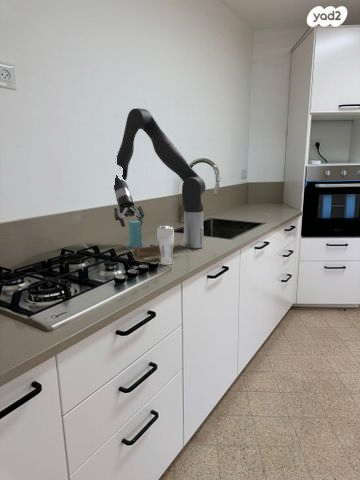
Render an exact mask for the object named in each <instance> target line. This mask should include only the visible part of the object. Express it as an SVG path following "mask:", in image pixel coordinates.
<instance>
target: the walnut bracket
mask: <svg viewBox="0 0 360 480" xmlns="http://www.w3.org/2000/svg"><path fill="white" fill-rule="evenodd" d="M127 252H128V251H127ZM127 252H126V251H125V252H124V254H126V253H127ZM131 252H132V254H133V256H134V259H135V260H136V261H142V262H148V263H153V262H155V263H156V262H159V248H158V245H155V244H154V243H152V244H150V245H149V246H147V247H142V248H139V247H137V246H133V250H132V251H131Z"/></svg>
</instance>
